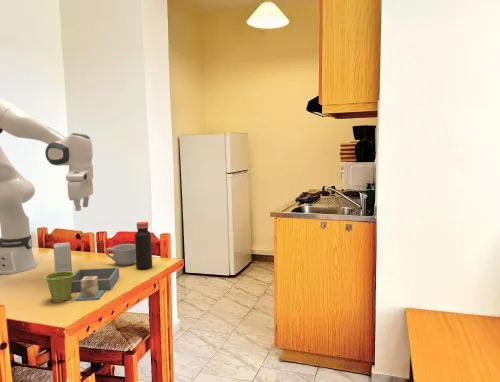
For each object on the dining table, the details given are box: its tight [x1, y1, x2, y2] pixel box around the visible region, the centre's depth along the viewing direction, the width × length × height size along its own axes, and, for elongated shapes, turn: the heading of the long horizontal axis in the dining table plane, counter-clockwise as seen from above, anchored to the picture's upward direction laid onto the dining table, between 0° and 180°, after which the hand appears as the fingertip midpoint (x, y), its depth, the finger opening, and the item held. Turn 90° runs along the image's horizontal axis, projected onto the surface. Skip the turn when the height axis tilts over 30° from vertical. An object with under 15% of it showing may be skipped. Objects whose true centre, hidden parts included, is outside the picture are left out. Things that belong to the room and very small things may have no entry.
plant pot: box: [44, 271, 76, 303], centre depth 147 cm, size 9×9×9 cm
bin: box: [71, 267, 120, 293], centre depth 162 cm, size 16×16×4 cm
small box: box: [53, 241, 73, 273], centre depth 174 cm, size 8×6×13 cm
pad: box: [74, 290, 105, 302], centre depth 149 cm, size 8×8×1 cm
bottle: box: [134, 221, 153, 271], centre depth 182 cm, size 7×7×20 cm
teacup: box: [104, 243, 136, 267], centre depth 190 cm, size 14×11×8 cm
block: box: [80, 276, 99, 297], centre depth 149 cm, size 4×4×6 cm
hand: (81, 208), depth 169 cm, fingers open, 8 cm apart
